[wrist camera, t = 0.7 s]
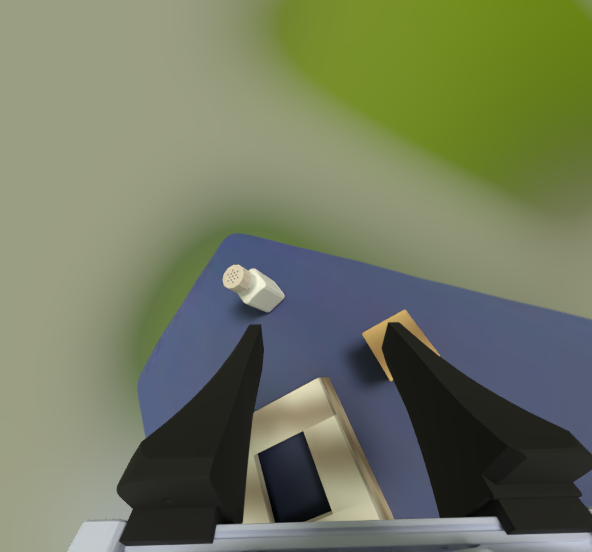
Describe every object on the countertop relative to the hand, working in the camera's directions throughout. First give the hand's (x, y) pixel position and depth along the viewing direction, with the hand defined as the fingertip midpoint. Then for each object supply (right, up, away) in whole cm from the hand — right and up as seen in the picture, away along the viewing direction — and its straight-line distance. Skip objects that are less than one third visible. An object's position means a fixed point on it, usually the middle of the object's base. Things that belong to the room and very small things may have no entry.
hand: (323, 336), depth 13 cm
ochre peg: (+10, -5, +13) cm, 17 cm away
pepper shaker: (-5, 0, +23) cm, 23 cm away
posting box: (-1, -18, +12) cm, 22 cm away
